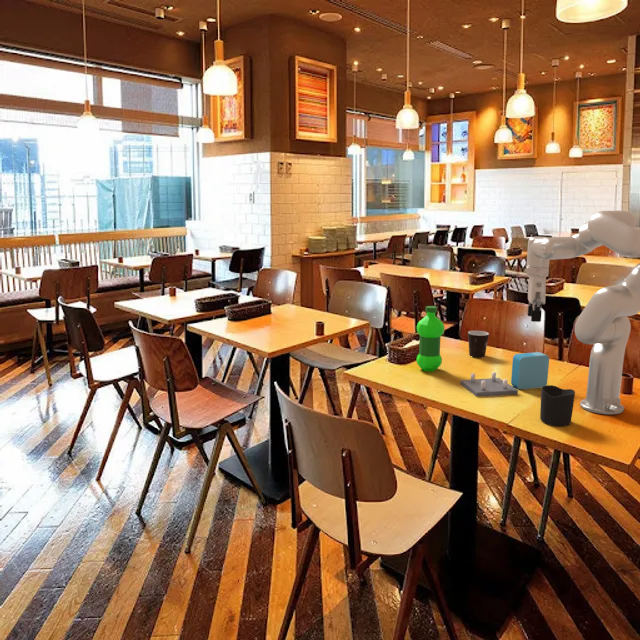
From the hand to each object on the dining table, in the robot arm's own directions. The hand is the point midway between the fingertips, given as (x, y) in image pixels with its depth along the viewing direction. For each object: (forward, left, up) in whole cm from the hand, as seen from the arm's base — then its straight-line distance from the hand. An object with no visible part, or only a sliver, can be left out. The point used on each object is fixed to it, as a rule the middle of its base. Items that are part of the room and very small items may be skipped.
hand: (534, 318), depth 215 cm
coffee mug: (+34, +6, -24) cm, 42 cm away
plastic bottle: (+19, +32, -24) cm, 44 cm away
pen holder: (-39, +13, -24) cm, 47 cm away
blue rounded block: (-7, +4, -24) cm, 25 cm away
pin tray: (-7, +19, -23) cm, 31 cm away
